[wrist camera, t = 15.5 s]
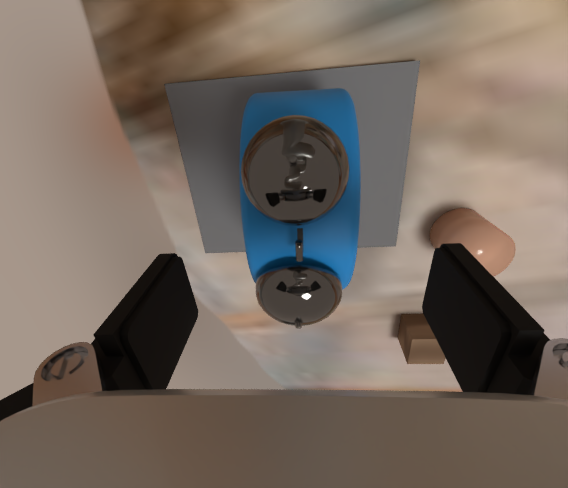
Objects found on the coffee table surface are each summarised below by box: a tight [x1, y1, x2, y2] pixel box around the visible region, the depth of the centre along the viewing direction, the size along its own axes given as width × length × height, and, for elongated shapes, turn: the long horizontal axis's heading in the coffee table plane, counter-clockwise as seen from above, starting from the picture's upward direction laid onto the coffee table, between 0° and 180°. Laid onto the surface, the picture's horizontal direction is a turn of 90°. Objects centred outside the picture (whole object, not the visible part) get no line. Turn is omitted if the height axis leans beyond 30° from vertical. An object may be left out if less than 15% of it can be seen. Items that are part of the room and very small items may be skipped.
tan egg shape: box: [430, 208, 516, 276], centre depth 26 cm, size 5×5×5 cm
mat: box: [164, 61, 420, 253], centre depth 26 cm, size 16×20×1 cm
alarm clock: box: [239, 88, 361, 328], centre depth 19 cm, size 13×6×15 cm, turn 3°
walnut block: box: [398, 314, 445, 364], centre depth 33 cm, size 4×4×4 cm
